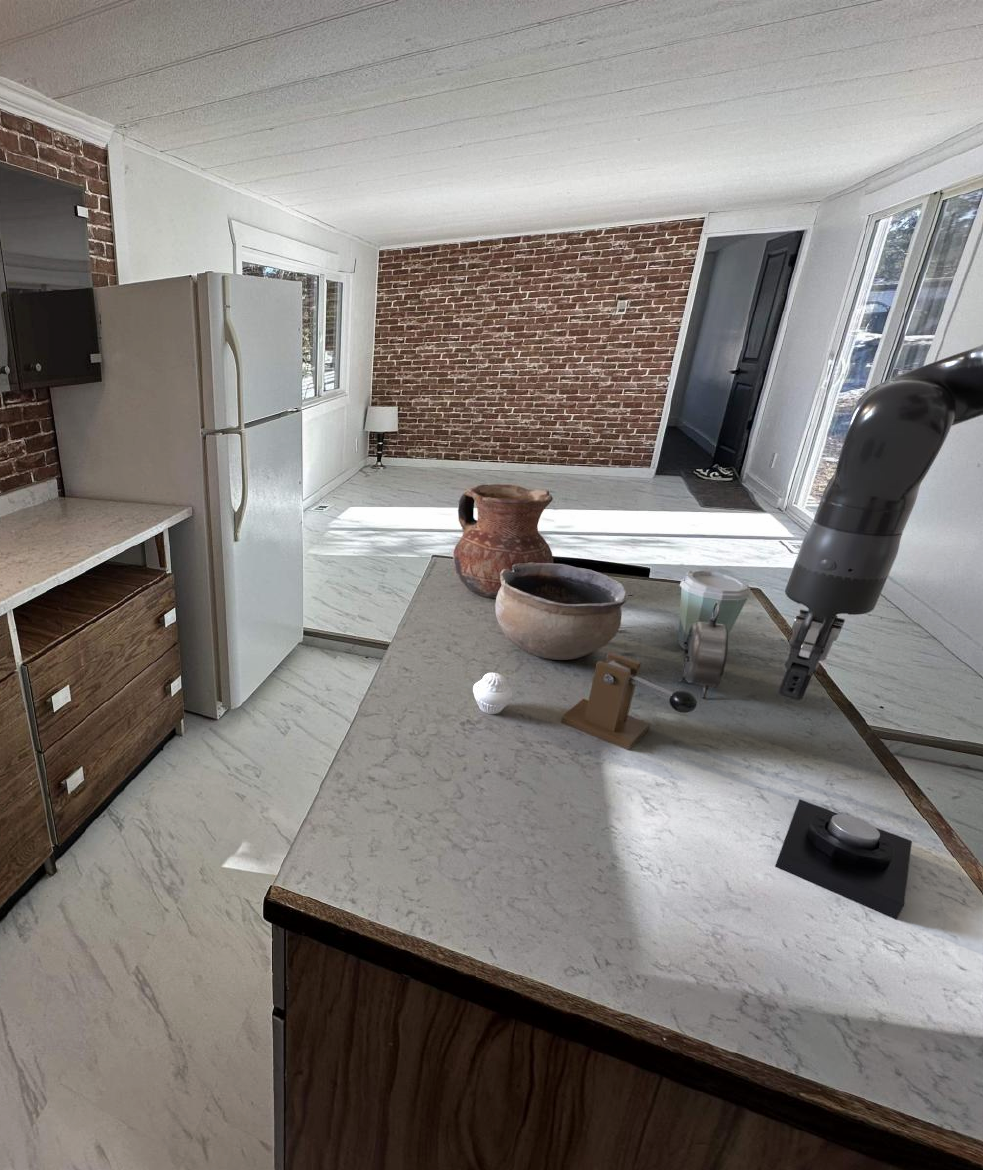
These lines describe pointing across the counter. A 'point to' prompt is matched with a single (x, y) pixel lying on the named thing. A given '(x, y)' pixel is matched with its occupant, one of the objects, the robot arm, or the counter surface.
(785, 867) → the button base
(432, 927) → the counter surface
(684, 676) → the alarm clock
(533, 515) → the jug
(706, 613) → the disposable coffee cup
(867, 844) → the grey push button
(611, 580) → the ceramic bowl
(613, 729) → the lever bracket
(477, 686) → the muffin
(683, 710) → the ball knob lever
